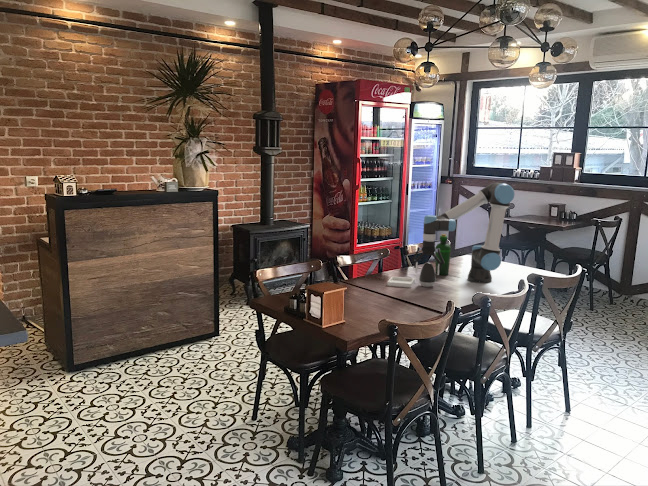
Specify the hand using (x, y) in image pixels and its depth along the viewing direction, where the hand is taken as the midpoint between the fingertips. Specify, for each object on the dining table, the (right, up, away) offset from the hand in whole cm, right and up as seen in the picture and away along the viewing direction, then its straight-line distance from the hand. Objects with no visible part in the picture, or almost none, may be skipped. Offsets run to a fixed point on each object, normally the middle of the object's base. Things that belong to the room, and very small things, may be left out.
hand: (427, 273), depth 329 cm
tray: (-15, -7, +6) cm, 18 cm away
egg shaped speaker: (0, -8, +2) cm, 8 cm away
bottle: (+16, -3, +32) cm, 36 cm away
